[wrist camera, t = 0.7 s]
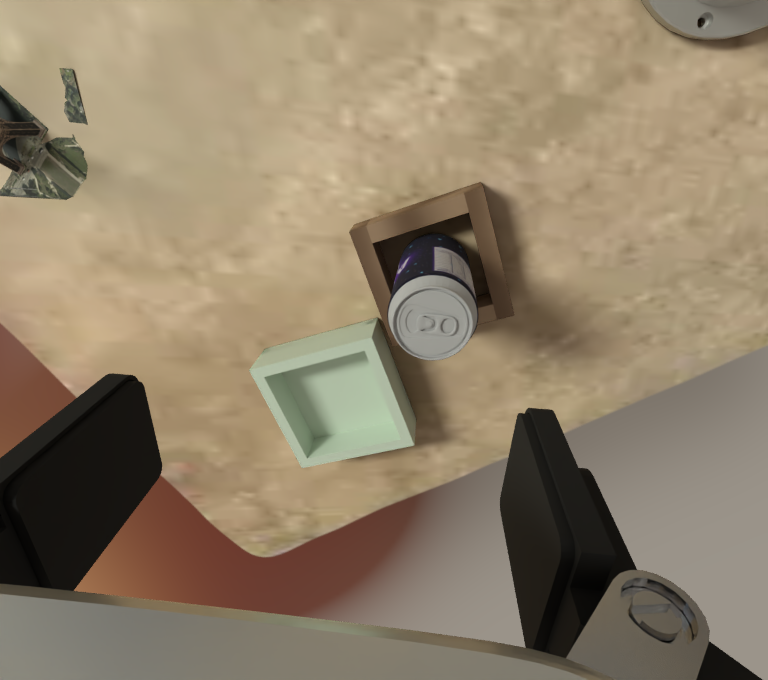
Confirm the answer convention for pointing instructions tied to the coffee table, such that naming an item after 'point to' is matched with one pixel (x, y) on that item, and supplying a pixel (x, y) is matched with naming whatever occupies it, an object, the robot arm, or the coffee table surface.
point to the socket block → (424, 215)
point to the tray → (337, 394)
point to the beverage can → (433, 298)
